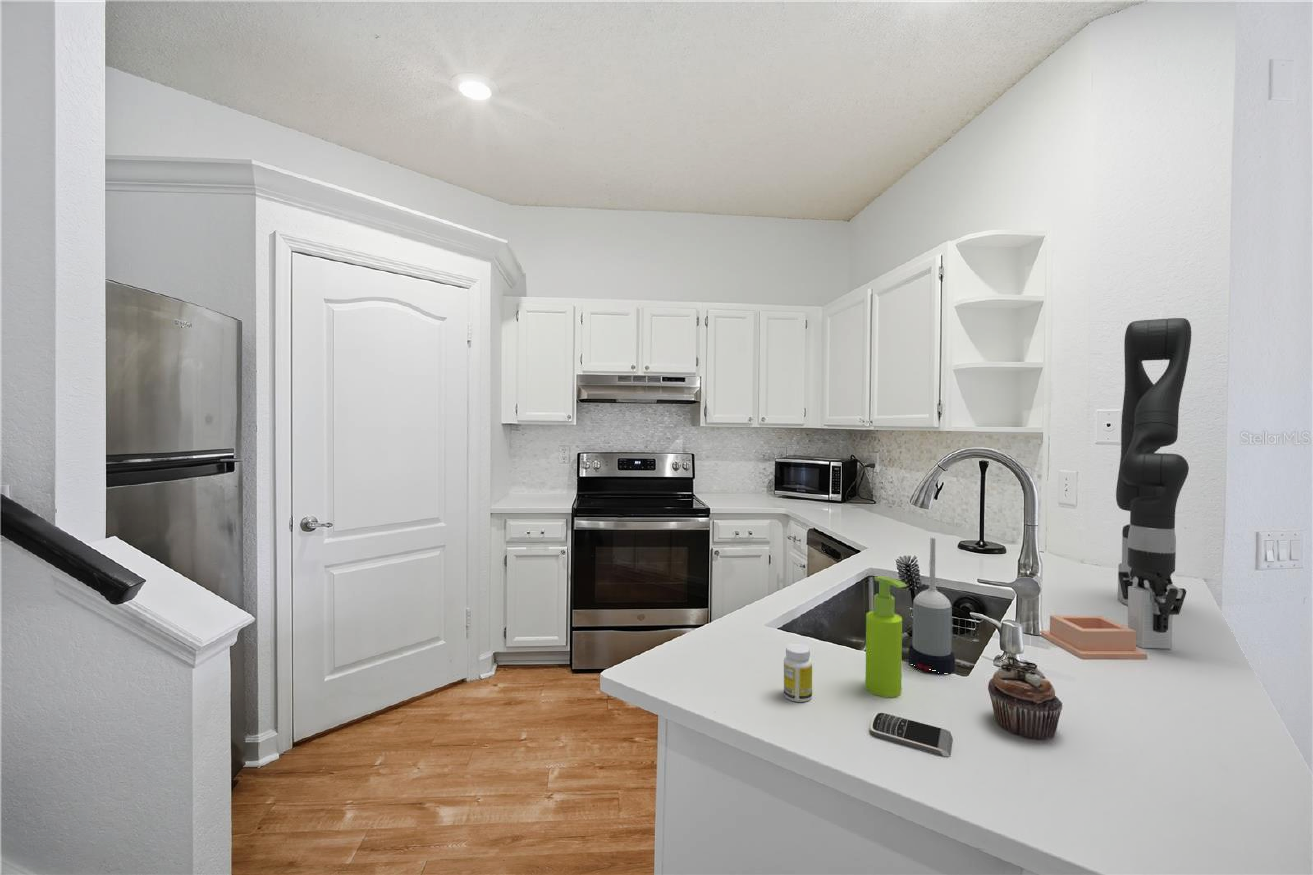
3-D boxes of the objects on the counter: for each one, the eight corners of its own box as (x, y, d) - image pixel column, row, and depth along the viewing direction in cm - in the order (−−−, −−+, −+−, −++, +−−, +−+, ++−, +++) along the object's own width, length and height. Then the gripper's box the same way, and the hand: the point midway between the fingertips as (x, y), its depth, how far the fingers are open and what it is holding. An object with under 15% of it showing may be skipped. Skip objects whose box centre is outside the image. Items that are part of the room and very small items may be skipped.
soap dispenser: (890, 703, 92) (892, 585, 92) (858, 685, 98) (859, 575, 98) (913, 695, 95) (915, 581, 94) (881, 678, 101) (882, 571, 101)
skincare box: (1155, 641, 118) (1157, 586, 118) (1172, 649, 114) (1174, 592, 114) (1125, 640, 119) (1127, 585, 118) (1140, 648, 115) (1142, 591, 114)
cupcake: (1065, 751, 79) (1066, 682, 79) (986, 730, 84) (987, 666, 84) (1059, 720, 87) (1060, 658, 87) (987, 703, 92) (988, 645, 92)
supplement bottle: (812, 691, 96) (813, 644, 96) (811, 705, 92) (811, 655, 92) (785, 687, 98) (785, 641, 98) (782, 700, 93) (782, 651, 93)
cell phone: (875, 719, 88) (875, 710, 88) (953, 740, 83) (953, 731, 82) (867, 738, 83) (868, 728, 83) (950, 762, 77) (950, 752, 77)
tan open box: (1040, 635, 122) (1040, 613, 121) (1099, 635, 121) (1099, 613, 121) (1081, 658, 110) (1082, 634, 109) (1147, 659, 109) (1147, 634, 109)
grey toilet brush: (915, 673, 103) (917, 541, 103) (903, 655, 111) (905, 532, 111) (961, 676, 102) (964, 543, 101) (946, 657, 110) (948, 534, 109)
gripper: (1202, 555, 109) (1200, 641, 109) (1139, 540, 123) (1137, 615, 123) (1164, 555, 109) (1162, 640, 109) (1105, 540, 123) (1104, 615, 123)
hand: (1149, 626), depth 116 cm, fingers closed on skincare box, 4 cm apart
